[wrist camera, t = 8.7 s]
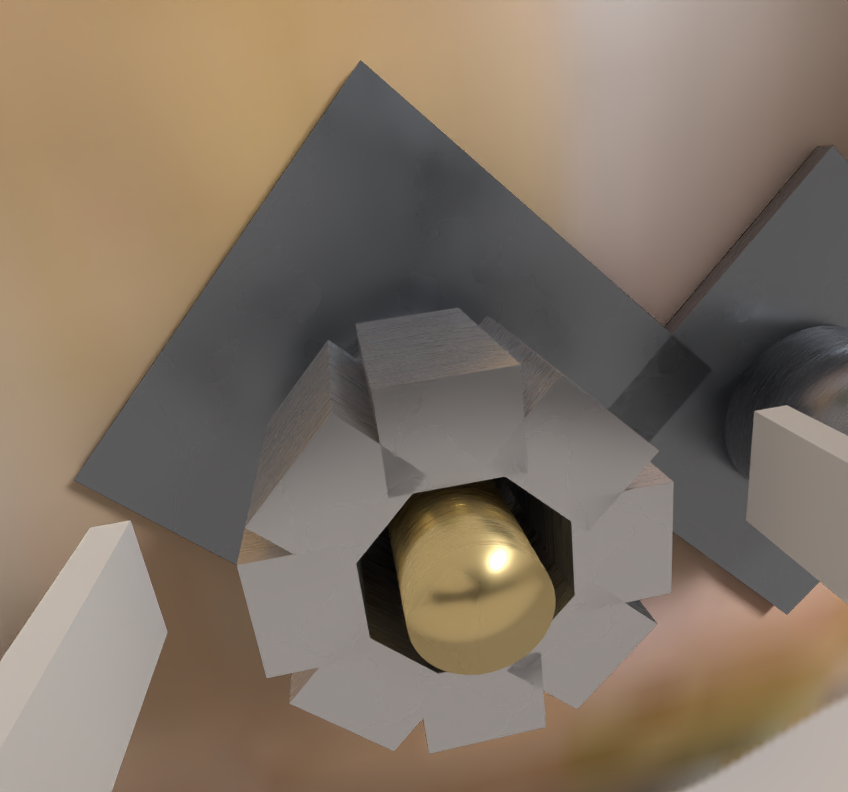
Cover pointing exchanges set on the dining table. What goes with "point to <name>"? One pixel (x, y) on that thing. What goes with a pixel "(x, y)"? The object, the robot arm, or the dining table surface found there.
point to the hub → (335, 321)
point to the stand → (757, 369)
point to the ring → (433, 469)
